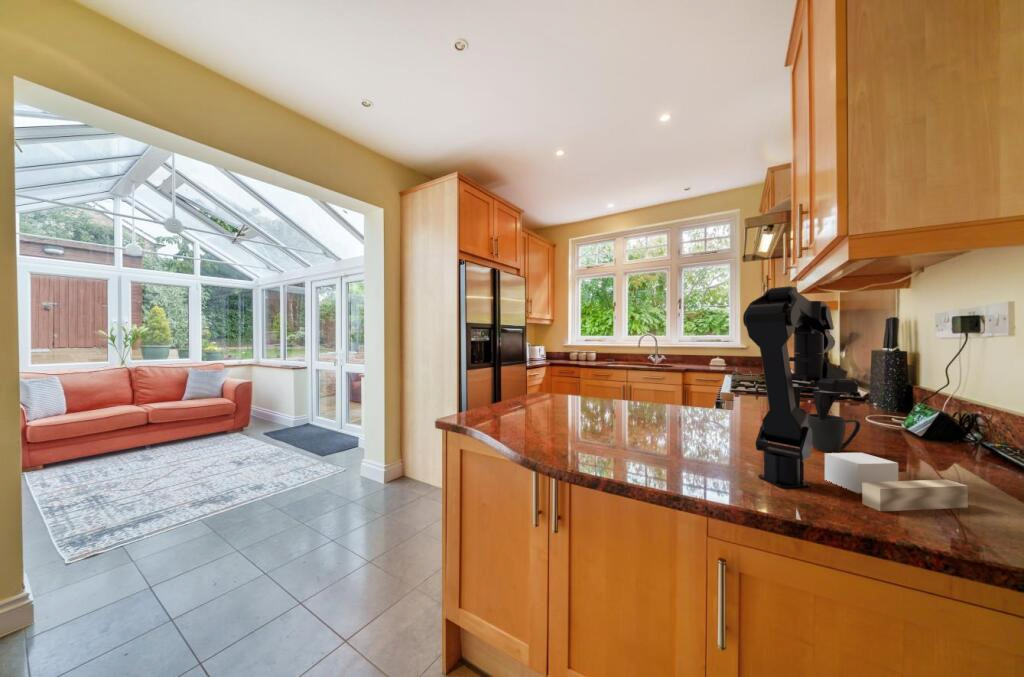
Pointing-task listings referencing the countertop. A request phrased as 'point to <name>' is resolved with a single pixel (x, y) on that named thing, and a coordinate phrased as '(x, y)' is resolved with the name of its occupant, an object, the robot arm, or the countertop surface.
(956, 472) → the countertop surface
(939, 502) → the board
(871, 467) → the block
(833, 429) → the mug
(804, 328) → the robot arm
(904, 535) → the countertop surface
